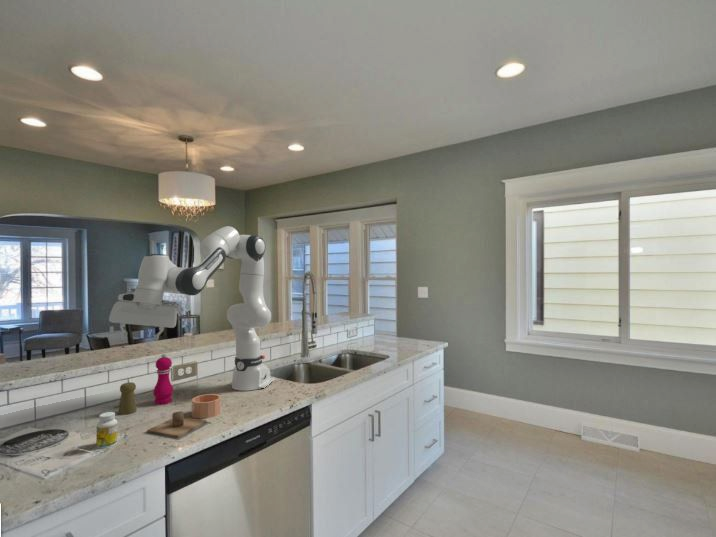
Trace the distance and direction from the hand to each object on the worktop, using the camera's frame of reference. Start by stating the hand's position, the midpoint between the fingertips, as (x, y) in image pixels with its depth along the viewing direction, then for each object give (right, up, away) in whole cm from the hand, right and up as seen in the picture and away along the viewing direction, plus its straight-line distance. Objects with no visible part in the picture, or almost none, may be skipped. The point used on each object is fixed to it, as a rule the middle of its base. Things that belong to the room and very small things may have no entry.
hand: (140, 338), depth 127 cm
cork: (-14, -31, +16) cm, 38 cm away
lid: (+13, -31, +1) cm, 33 cm away
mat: (+13, -31, +1) cm, 33 cm away
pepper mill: (-6, -31, +27) cm, 42 cm away
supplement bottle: (-3, -31, -12) cm, 33 cm away
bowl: (+17, -31, +14) cm, 38 cm away
